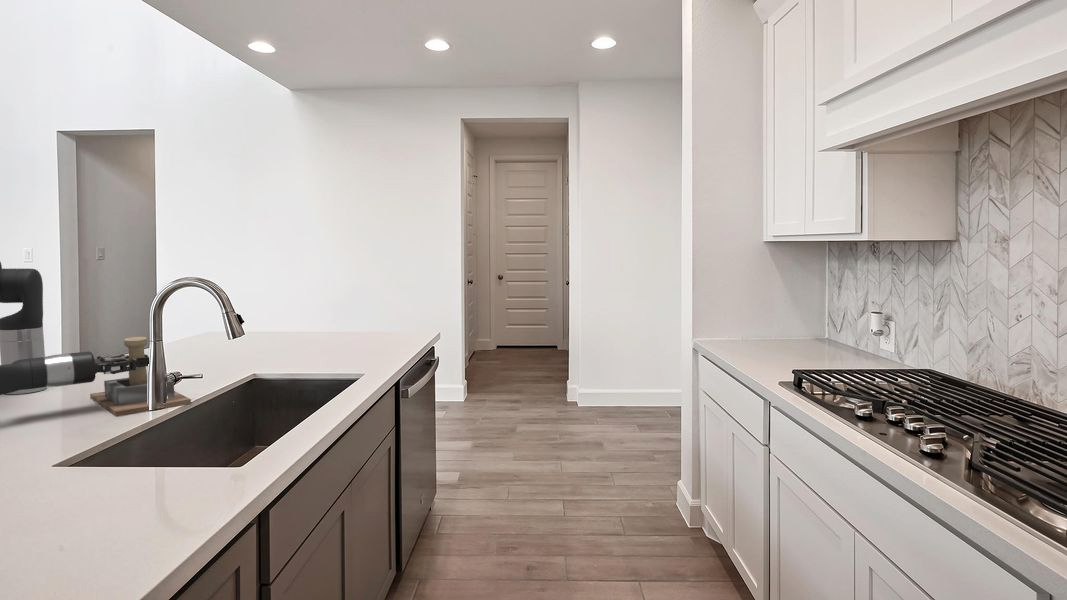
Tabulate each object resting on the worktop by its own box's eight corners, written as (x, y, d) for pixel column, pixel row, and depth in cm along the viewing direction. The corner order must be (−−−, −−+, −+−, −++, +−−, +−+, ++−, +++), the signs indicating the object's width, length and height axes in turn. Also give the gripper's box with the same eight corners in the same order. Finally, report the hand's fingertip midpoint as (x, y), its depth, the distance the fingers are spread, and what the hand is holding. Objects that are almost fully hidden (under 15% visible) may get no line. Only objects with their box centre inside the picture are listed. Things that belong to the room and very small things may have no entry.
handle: (127, 400, 151) (123, 341, 149) (128, 394, 156) (125, 337, 155) (149, 398, 153) (146, 340, 152) (150, 392, 159) (147, 336, 157)
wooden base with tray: (90, 398, 157) (89, 378, 157) (159, 387, 169) (158, 369, 169) (116, 416, 141) (115, 394, 141) (190, 403, 153) (190, 383, 153)
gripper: (74, 357, 138) (159, 348, 151) (60, 349, 148) (141, 342, 161) (76, 389, 139) (160, 378, 152) (62, 380, 149) (142, 369, 161)
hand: (150, 359), depth 156 cm, fingers open, 4 cm apart
